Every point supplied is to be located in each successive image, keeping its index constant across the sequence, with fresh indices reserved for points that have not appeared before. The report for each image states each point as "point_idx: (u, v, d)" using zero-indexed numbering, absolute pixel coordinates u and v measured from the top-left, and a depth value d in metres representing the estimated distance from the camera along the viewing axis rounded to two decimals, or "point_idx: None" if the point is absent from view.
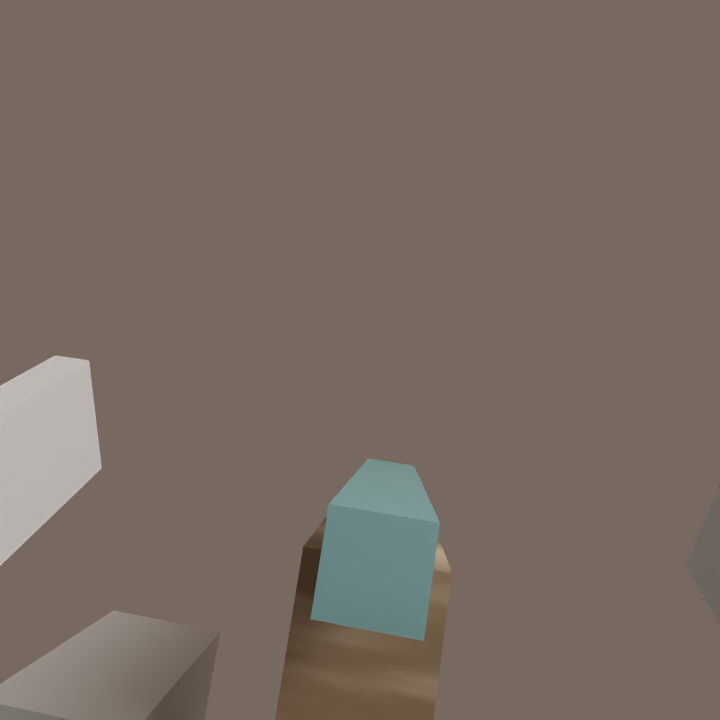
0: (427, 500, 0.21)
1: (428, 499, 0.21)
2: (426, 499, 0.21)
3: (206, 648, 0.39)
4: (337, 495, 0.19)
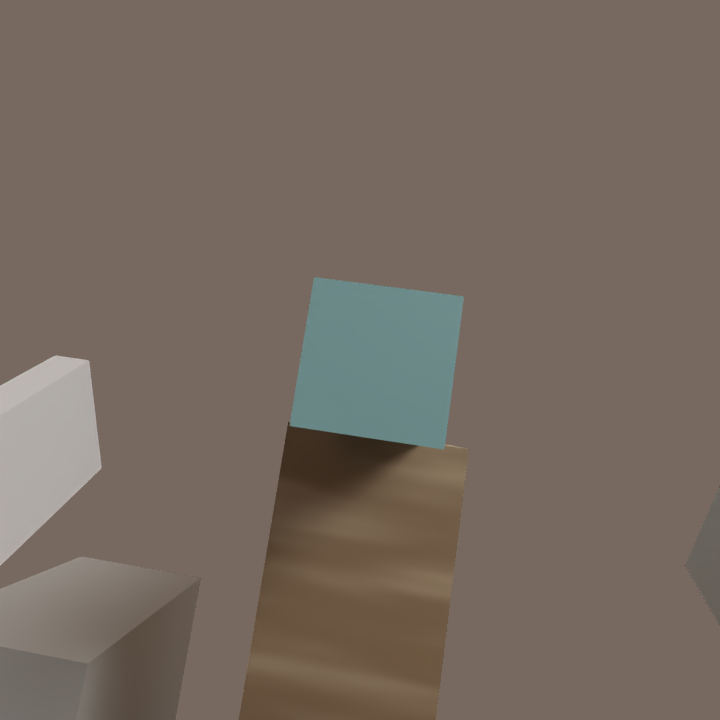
0: None
1: None
2: None
3: (184, 591, 0.34)
4: None
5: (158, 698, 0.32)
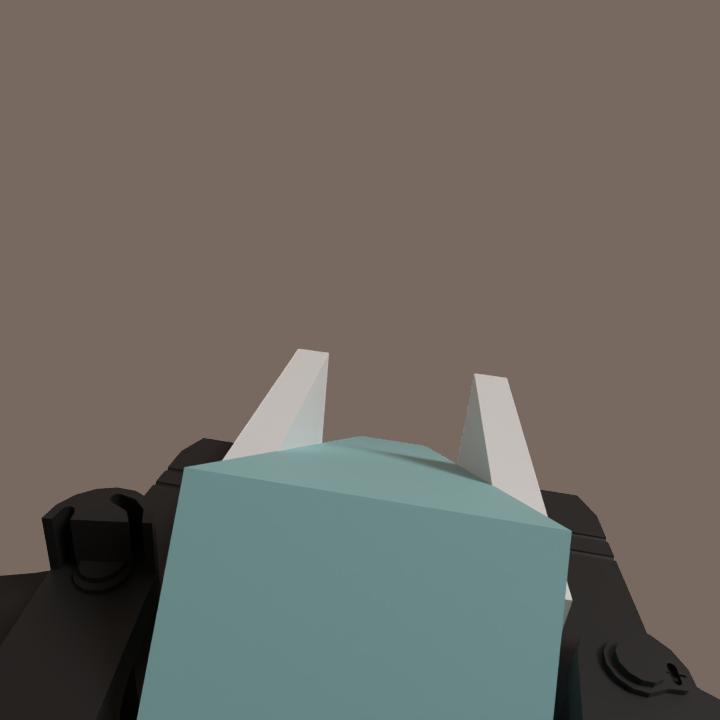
0: (476, 477, 0.09)
1: (476, 476, 0.10)
2: (472, 476, 0.10)
3: None
4: (251, 457, 0.07)
5: None
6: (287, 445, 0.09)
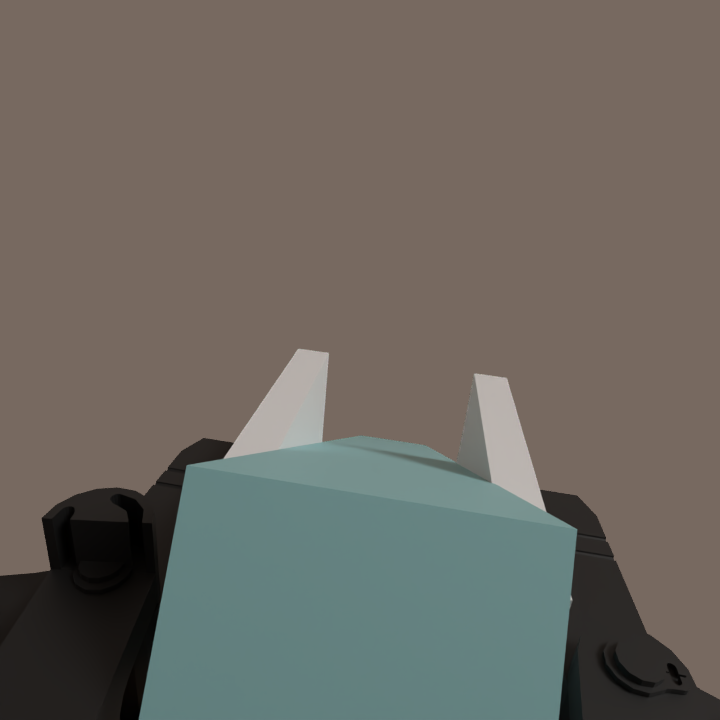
0: (478, 476, 0.09)
1: None
2: (474, 475, 0.10)
3: None
4: (253, 455, 0.07)
5: None
6: (287, 445, 0.09)
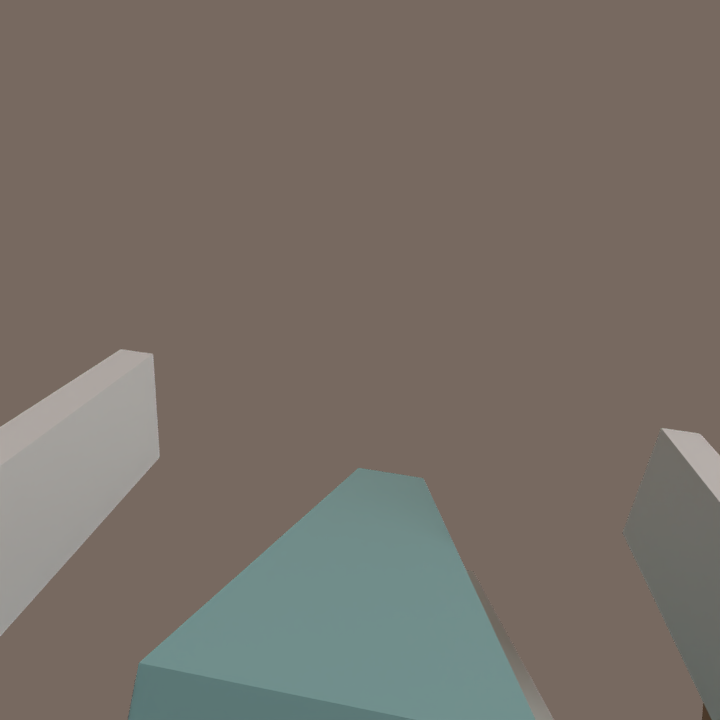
0: (464, 577, 0.09)
1: (465, 571, 0.09)
2: (461, 572, 0.09)
3: None
4: (224, 590, 0.07)
5: None
6: (35, 458, 0.08)
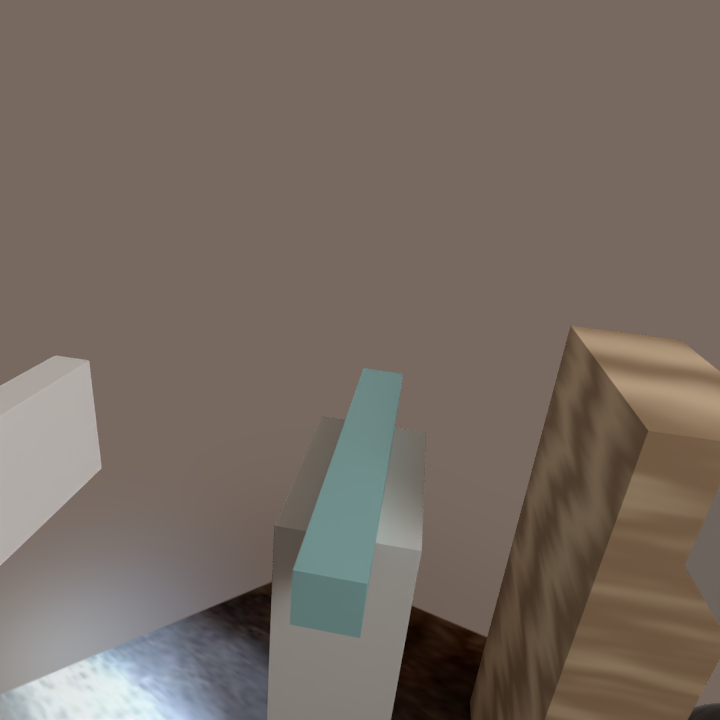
0: (377, 514, 0.28)
1: (379, 510, 0.29)
2: (377, 511, 0.29)
3: None
4: (304, 538, 0.26)
5: None
6: None
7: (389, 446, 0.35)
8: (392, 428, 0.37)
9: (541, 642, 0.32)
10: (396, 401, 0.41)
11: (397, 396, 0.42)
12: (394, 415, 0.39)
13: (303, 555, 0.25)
